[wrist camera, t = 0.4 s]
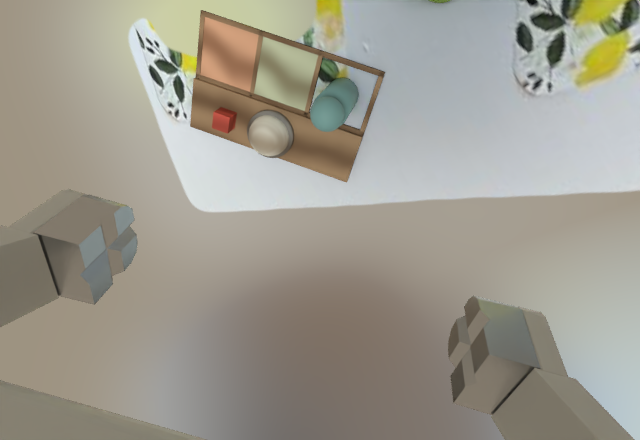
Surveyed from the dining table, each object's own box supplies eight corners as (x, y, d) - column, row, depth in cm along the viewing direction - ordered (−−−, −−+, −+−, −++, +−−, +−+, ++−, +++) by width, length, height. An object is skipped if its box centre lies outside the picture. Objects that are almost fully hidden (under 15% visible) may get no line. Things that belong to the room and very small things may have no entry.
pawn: (331, 73, 52) (309, 94, 43) (362, 83, 52) (347, 107, 42) (323, 104, 55) (300, 130, 45) (352, 114, 54) (336, 143, 45)
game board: (205, 9, 53) (182, 12, 48) (385, 70, 51) (380, 80, 46) (196, 122, 62) (176, 134, 57) (348, 176, 61) (341, 194, 56)
